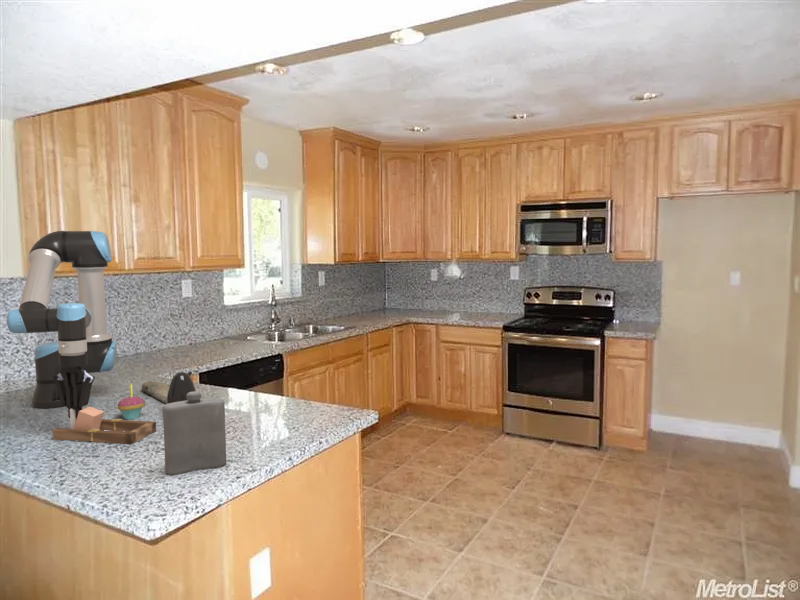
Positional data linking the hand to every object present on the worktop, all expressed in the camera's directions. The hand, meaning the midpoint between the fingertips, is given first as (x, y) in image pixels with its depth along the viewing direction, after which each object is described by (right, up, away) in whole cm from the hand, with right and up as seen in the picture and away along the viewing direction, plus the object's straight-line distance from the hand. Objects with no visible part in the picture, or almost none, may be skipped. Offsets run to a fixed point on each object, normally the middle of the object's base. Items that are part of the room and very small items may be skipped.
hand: (75, 428), depth 165 cm
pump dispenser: (+25, 0, +20) cm, 32 cm away
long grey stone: (+7, +1, +45) cm, 45 cm away
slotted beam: (+10, -2, -1) cm, 10 cm away
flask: (+47, -4, -26) cm, 54 cm away
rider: (+3, -1, 0) cm, 3 cm away
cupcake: (+9, -1, +18) cm, 20 cm away
